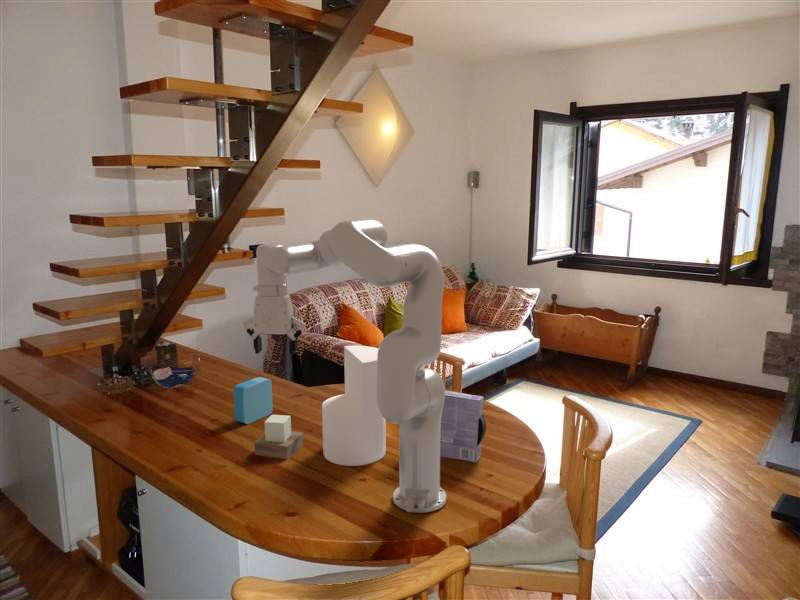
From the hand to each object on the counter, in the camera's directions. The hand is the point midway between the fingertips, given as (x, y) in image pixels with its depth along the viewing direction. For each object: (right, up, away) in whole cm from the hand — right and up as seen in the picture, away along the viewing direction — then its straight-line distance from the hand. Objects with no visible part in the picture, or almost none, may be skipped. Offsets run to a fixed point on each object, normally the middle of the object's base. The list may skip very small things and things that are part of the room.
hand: (275, 353), depth 164 cm
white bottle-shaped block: (+21, -28, +4) cm, 35 cm away
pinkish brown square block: (0, -28, +6) cm, 28 cm away
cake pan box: (+47, -28, +2) cm, 55 cm away
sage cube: (0, -24, +5) cm, 24 cm away
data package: (-13, -23, +28) cm, 39 cm away
